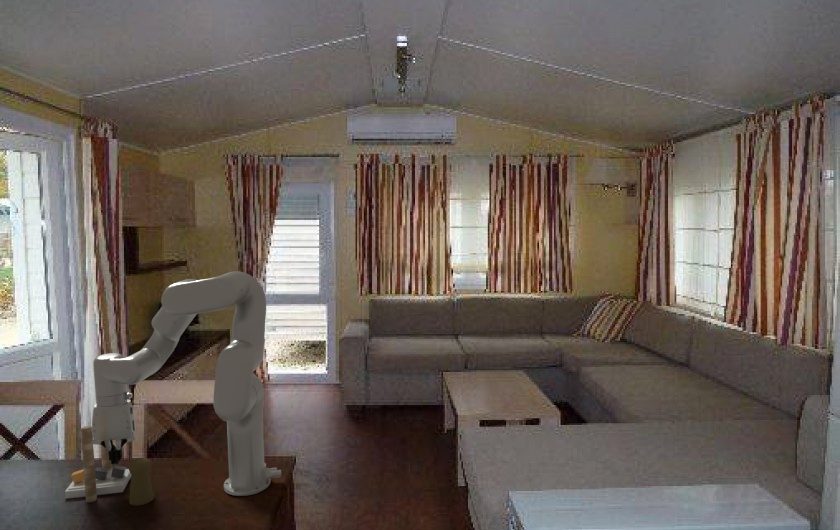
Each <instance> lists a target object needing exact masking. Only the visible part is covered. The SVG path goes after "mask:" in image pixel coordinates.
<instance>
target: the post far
mask: <svg viewBox="0 0 840 530" xmlns="http://www.w3.org/2000/svg"><path fill="white" fill-rule="evenodd" d="M100 453H101V466H102V467H101V468H107V469H109V470H108V471H112V470H113V468H114V466H113V465H114V464H112V465H111V460H110V461H109V452H108V451H107V450H106V448H105V447H103V446H102V445H100Z"/></svg>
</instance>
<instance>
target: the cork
mask: <svg viewBox="0 0 840 530" xmlns="http://www.w3.org/2000/svg"><path fill="white" fill-rule="evenodd" d="M128 469H129V471H130V473H131V474H132V475H131V478H130V487H129V497H128V498H129V499H128V500H129V501H128V502H129V505H131V506H142V505H146V504H148V503H150V501H151V502H152V501H153V500H154V499H155V494H154V489H153V485H152V480H151V479H152V478H151V475H150V469H151V461H150V460H149V459H148V458H146V457H139V458H136V459H133V460H132V461H131V462H130V463H129V465H128Z"/></svg>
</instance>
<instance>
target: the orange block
mask: <svg viewBox="0 0 840 530" xmlns="http://www.w3.org/2000/svg"><path fill="white" fill-rule="evenodd" d="M70 477H71V479H72V481H73V482H74V483H77V482H80V481H83V480H84V469H80V470H77V471H74V472H73V473H72V474H71V476H70Z"/></svg>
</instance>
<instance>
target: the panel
mask: <svg viewBox="0 0 840 530" xmlns="http://www.w3.org/2000/svg"><path fill="white" fill-rule="evenodd" d="M111 475H112V471H108V474H107V478H106V479H105V480H98V479H96V490H97V496H101V495H109V494H110V495H111V494H118V493H123V492H124V490H125V489H126V487H127V485H128V483H129V481H131V475H132V474H131V473H130V471H129V468H126V470H125V475H124V477H123V478H116V477H111ZM64 496H65V499H74V498H83V497H84V498H85V497H86V496H85V483H84V480H83V481H80V482H77V483H74V482H73V480H72V482H71V483H70V484H69V486H68V487H67V488H66V489H65V491H64Z"/></svg>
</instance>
